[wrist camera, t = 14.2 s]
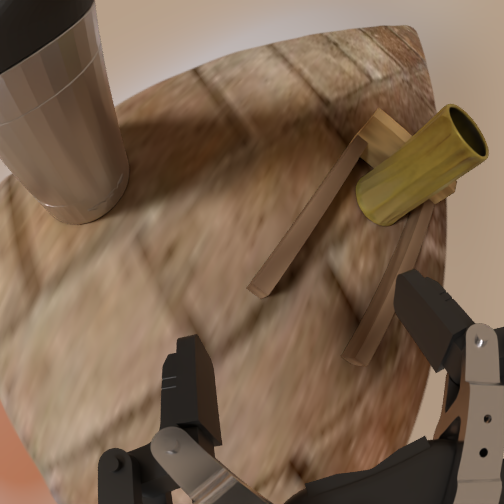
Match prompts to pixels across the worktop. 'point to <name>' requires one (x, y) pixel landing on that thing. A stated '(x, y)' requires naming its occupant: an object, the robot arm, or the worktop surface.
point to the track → (362, 145)
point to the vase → (422, 166)
